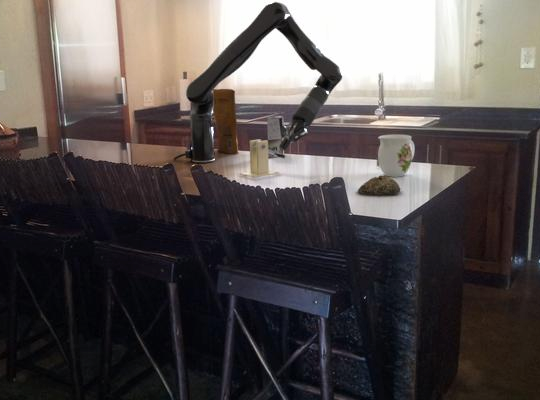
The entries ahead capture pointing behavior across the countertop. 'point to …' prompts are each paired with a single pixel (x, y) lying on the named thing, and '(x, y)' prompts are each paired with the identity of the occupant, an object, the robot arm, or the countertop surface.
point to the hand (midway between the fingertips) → (281, 148)
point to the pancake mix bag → (225, 120)
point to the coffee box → (275, 134)
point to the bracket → (259, 159)
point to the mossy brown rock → (380, 186)
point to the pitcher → (395, 154)
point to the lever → (271, 152)
